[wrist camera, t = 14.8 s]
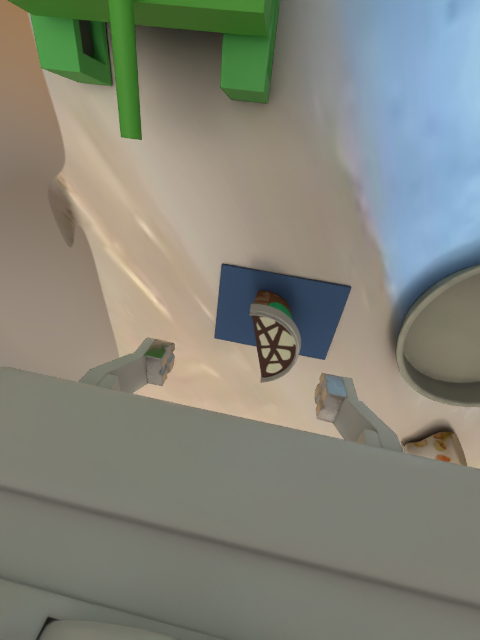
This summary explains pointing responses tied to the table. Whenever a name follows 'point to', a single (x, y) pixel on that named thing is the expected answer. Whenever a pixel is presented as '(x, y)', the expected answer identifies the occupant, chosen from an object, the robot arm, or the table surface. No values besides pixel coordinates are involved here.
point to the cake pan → (444, 341)
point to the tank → (160, 11)
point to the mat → (300, 293)
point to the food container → (274, 335)
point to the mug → (439, 448)
